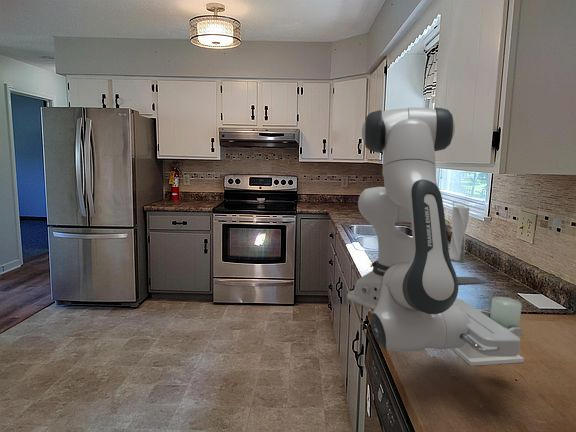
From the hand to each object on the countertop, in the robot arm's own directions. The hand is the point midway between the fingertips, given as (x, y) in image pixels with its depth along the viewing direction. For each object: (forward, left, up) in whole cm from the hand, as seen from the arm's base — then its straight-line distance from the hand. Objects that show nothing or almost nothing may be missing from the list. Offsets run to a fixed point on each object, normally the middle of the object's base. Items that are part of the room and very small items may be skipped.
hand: (507, 323), depth 83 cm
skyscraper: (-42, +100, -14) cm, 109 cm away
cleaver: (-33, +63, -14) cm, 73 cm away
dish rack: (-7, +12, -14) cm, 19 cm away
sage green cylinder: (-1, -1, -6) cm, 6 cm away
